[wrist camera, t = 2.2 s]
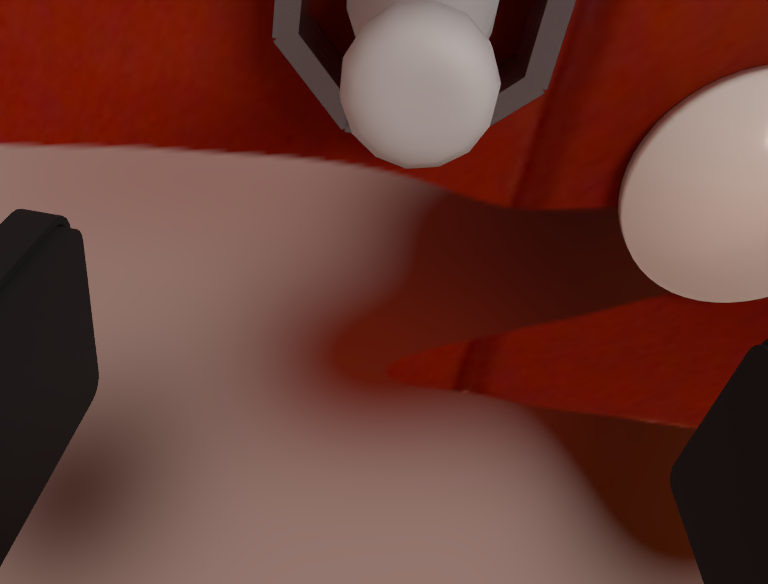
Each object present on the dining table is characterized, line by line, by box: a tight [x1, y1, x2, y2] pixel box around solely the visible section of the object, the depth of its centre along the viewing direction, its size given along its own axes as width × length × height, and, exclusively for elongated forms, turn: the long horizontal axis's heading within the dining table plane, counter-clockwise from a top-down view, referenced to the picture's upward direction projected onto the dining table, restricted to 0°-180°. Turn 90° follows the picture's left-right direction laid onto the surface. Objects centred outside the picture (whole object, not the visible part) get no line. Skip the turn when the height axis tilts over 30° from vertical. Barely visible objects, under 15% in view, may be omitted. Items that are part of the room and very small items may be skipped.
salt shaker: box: [340, 0, 501, 169], centre depth 22 cm, size 6×6×13 cm
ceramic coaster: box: [618, 65, 768, 303], centre depth 32 cm, size 12×12×1 cm
